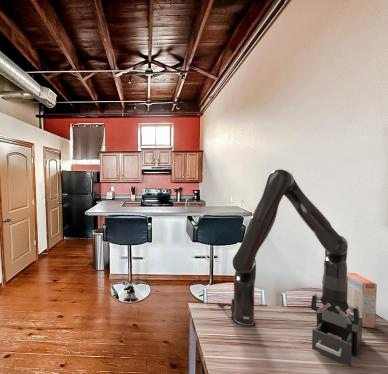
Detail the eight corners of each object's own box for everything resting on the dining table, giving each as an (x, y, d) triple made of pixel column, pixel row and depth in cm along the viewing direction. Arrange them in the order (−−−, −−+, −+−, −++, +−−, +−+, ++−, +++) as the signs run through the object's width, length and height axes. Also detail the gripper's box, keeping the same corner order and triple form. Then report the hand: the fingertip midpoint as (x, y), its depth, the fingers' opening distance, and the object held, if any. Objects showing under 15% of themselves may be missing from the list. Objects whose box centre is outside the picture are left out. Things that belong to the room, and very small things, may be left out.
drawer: (348, 373, 80) (348, 351, 80) (308, 354, 89) (308, 334, 89) (356, 349, 92) (356, 329, 92) (320, 334, 101) (320, 317, 101)
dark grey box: (356, 356, 89) (357, 332, 89) (316, 339, 99) (316, 317, 99) (361, 340, 99) (362, 318, 98) (324, 326, 108) (324, 306, 108)
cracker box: (376, 329, 106) (377, 283, 106) (361, 327, 108) (362, 282, 107) (354, 312, 120) (355, 272, 120) (341, 311, 121) (342, 271, 121)
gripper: (361, 289, 88) (359, 332, 88) (314, 277, 99) (313, 315, 99) (358, 295, 83) (356, 340, 83) (309, 282, 94) (309, 322, 94)
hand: (333, 327), depth 91 cm, fingers open, 8 cm apart
